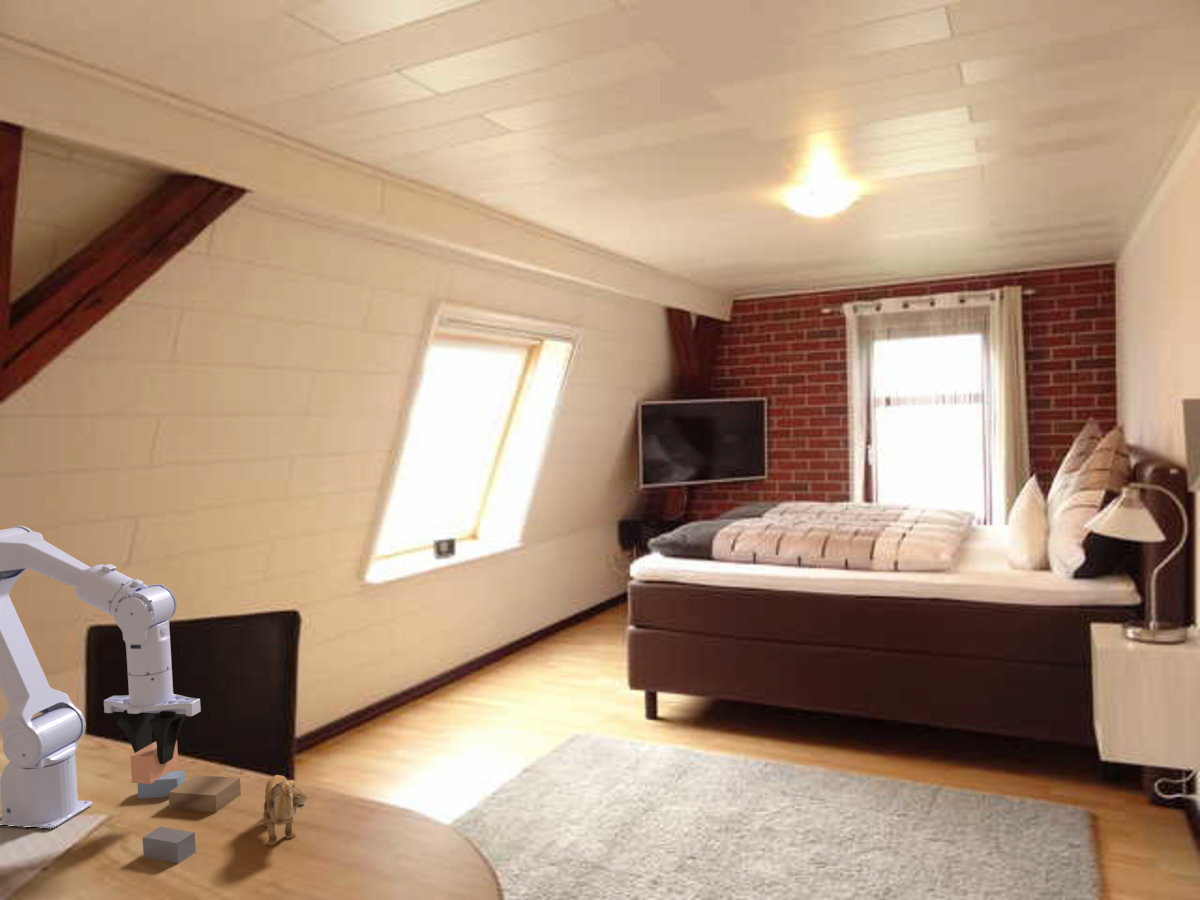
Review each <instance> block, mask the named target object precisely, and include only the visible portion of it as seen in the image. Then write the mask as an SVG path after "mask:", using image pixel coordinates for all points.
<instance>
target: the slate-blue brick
mask: <svg viewBox="0 0 1200 900" xmlns="http://www.w3.org/2000/svg"><path fill="white" fill-rule="evenodd" d="M185 781H186V771H185V770H174V771H173V770H172V771H170V772H168V773H167V774H165V775H164V776H162V777H160V778H159V779H157V780H156V781H154V782H153V783H151V784H145V783H137V795H138V796H137V797H138V799H152V798H153V799H154V798H155V799H157V798H169V792H170V791H171V790H173V789H174V788H176V787H177V786H179V785H180V784H182V783H183V782H185Z"/></svg>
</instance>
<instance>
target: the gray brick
mask: <svg viewBox="0 0 1200 900" xmlns="http://www.w3.org/2000/svg"><path fill="white" fill-rule="evenodd" d="M142 849H143V850H142V852H143V858H147V859H149V860H156V861H161V862H167V863H173V864H177V865H179V864H180V863H182V862H184V861H185V860H186V859H188V858H190V857H191V856H193V855H194V854H196V852H197V850H196V833H195V832H194V831H191V830H190V831H189V830H184V829H177V828H171V827H165V826H159V827H157V828H156V829H154V830H152V831H150V832H148V833H146V834H145V835H144V836H142Z"/></svg>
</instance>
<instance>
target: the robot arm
mask: <svg viewBox="0 0 1200 900" xmlns="http://www.w3.org/2000/svg"><path fill="white" fill-rule="evenodd" d="M28 569H29V570H32V571H34V572H37V573H39V574H41V575H44V576H47V577H48V578H50V579H53V580H56V581H58V582H61V583H63V584H66V585H68V586H71V587H72V588H74V589H75V594H76V597H77V598H78V600H80V601H82V602H84V603H85V604H86V603H87V604H88V605H90V606H92V607H94V608H96V609H98V610H100V611H102V612H104V613H106V614H108V615H111V616H112V617H113V618H114V622H115V624H116V625H117V627H118V628H119V629H120V631H121V632H122V640H123V641H124V643H125V650H126V651H125V652H126V664H127V665H126V666H127V681H128V683H127V684H128V694H127V695H112V696H109V697H108V698H106V699H104V700H103V707H104V709H103V710H104V711H103V712H104V713H106V714H112V713H114V712H116V713H118V712H120V713H123V715H122V717H120V718H118V719H117V721H116V722H117V723H116V724H117V727H119V728H120V729H121V730H122V732H123V733H124V734H125V735H126V737H127V739H128V741H129V743H130V745H131V747H132V749H133V752H134V753H136V752H138V751H140V750H141V749H143V748H145V747H147V746H148V745H150V744H152V743H153V735H154V738H155V742H156V744H157V755H158V760H159V763H160V764H165V763H167V762H168V761H170V760H172V759H173V754H174V749H175V744H176V740H177V739H178V737H179V733H180V730H181V728H182V726H183V723H184V721H185V720H186V718H187V717H193V716H195V715H197V714H198V713H200V712H202V710H201V709H202V708H201V699H200V698H195V697H189V696H185V695H181V694H175V693H174V687H173V683H174V682H173V669H172V667H173V666H172V651H171V649H172V648H171V635H170V634H171V632H170V620H171V619H172V618H173V616H175V614H176V611H177V607H178V605H177V603H178V602H177V599H176V596H175V594H174V593H173V591H172V590H171V589H169V588H168V587H166V586H165V584H162V583H154V584H151V585H148V584H145V583H144V581H143V580H141V579H139V578H138V579H133V578H132V577H130V576H127V575H125V574H124V573H121V572H120V571H117V566H115V565H114V564H111V563H108V564H101V563H100V564H96V565H94V566H92V567H91V566H90V565H87V564H86V563H84V562H82V561H80V560H78V558H76V557H73V556H72V555H70V554H68V553H67V552H65V551H63V550H61V549H60V548H58V547H57V546H55V545H53V544H51V543H50V542H48V541H47V540H45V539H44V536H43V534H42V533H41V532H37V531H34V530H33V529H31V528H29V527H27V526H24V525H15V526H12V527H9V528H3V529H0V689H1V691H2V693H3V696H4V697H5V700H6V703H7V704H8V707H7V709H6V712H5V713H4V715H3V716H2V718H1V720H0V733H1V736H2V751H3V753H4V755H5V758H6V760H8V761H9V762H8V763H7V764H6V765H5V767H4V768H3V770H2V773H1V776H0V803H1V804H0V807H1V820H0V824H2V825H14V826H31V827H40V828H39V829H42V828H50V829H49V830H52V829H51V828H53V829H55V828H56V826H57V827H58V826H60V825H62V824H63V823H65V822H66V821H68V820H70V819H71V818H73V817H74V816H76V815H78V814H79V813H81V812H83V811H84V810H86V809H87V808H89V807H91V806H92V805H93V801H92V800H80V799H79V797H78V796H79V794H78V780H77V763H76V750H77V749H78V748H79V746H78V745H79V744H78V742H79V740H81V739H82V738H83V736H84V734H85V731H86V726H87V723H86V718H85V716H84V714H83V713H82V711H81V710H80V709H79V708H78V707H77V706H75V705H74V704H73V702H72V700H71V698H70V696H69V694H68V693H65V692H64V691H60V690H57V689H54V688H52V687H51V686H50V685H49V682H48V680H47V677H46V674H45V673H44V670H43V667H42V665H41V664H40V661H39V659H38V657H37V655H36V652H35V650H34V648H33V645H32V644H31V641H30V639H29V637H28V634H27V633H26V630H25V628H24V626H23V624H22V621H21V619H20V618H19V615H18V613H17V610H16V607H15V606H14V604H13V602H12V600H11V597H10V592H11V590H12V588H13V586H14V584H15V583H16V582H17V581H18V580H19V579H20V577H21V576H23V574H24V573H25V572H26V571H27V570H28ZM38 713H40V714H39V715H38V716H35V717H33V716H34V715H36V714H38ZM155 714H159V715H158V716H156V715H155ZM155 716H156V717H155ZM177 741H178V740H177ZM134 753H133V754H134ZM54 827H55V828H54Z"/></svg>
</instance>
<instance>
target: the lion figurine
mask: <svg viewBox="0 0 1200 900" xmlns="http://www.w3.org/2000/svg"><path fill="white" fill-rule="evenodd" d="M308 798H309V794H307V793H304V792H302V791H301V789H300V788H298V787H296V784H295V781H294V780H288V779H287V778H286V777H285V776H284V775H279V774H276V775H274V776H272V777H271V778H269V779H268V780H267V783H266V785H265V793H264V803H263V811H264V813H265V814H264V815H265V817H264V820H263V821H262V822H261V824H262V826H263V827H266V828H267V829H266V830H267V835H268V840H267V842H266V844H267V845H268V846H273V845H276V844H277V840H278V837H277V835H276V830H275V829H276V828H275V826H280V825H281V826H283V825H284V827H285V828H284V836H285V837H286V838H287V839H288V838H292V839H293V837H294V838H295V837H296V836H297V834H296V832H293V822H294V816H295V815H296V814H297V809H299V810H303V809H304V806H305V804H306V803H307V800H308Z"/></svg>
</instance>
